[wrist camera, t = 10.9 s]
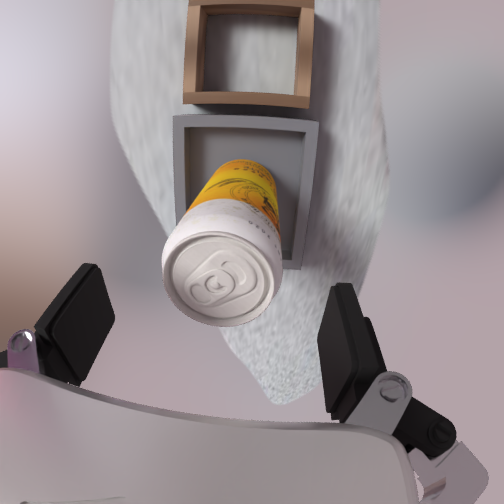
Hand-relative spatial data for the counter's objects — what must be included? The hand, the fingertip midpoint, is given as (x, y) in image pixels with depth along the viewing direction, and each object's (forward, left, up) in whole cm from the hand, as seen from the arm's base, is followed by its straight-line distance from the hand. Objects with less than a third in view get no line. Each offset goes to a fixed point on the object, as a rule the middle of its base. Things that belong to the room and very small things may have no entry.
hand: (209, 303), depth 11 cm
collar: (-12, 0, -18) cm, 22 cm away
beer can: (+1, 0, -17) cm, 17 cm away
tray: (+1, 0, -18) cm, 18 cm away
